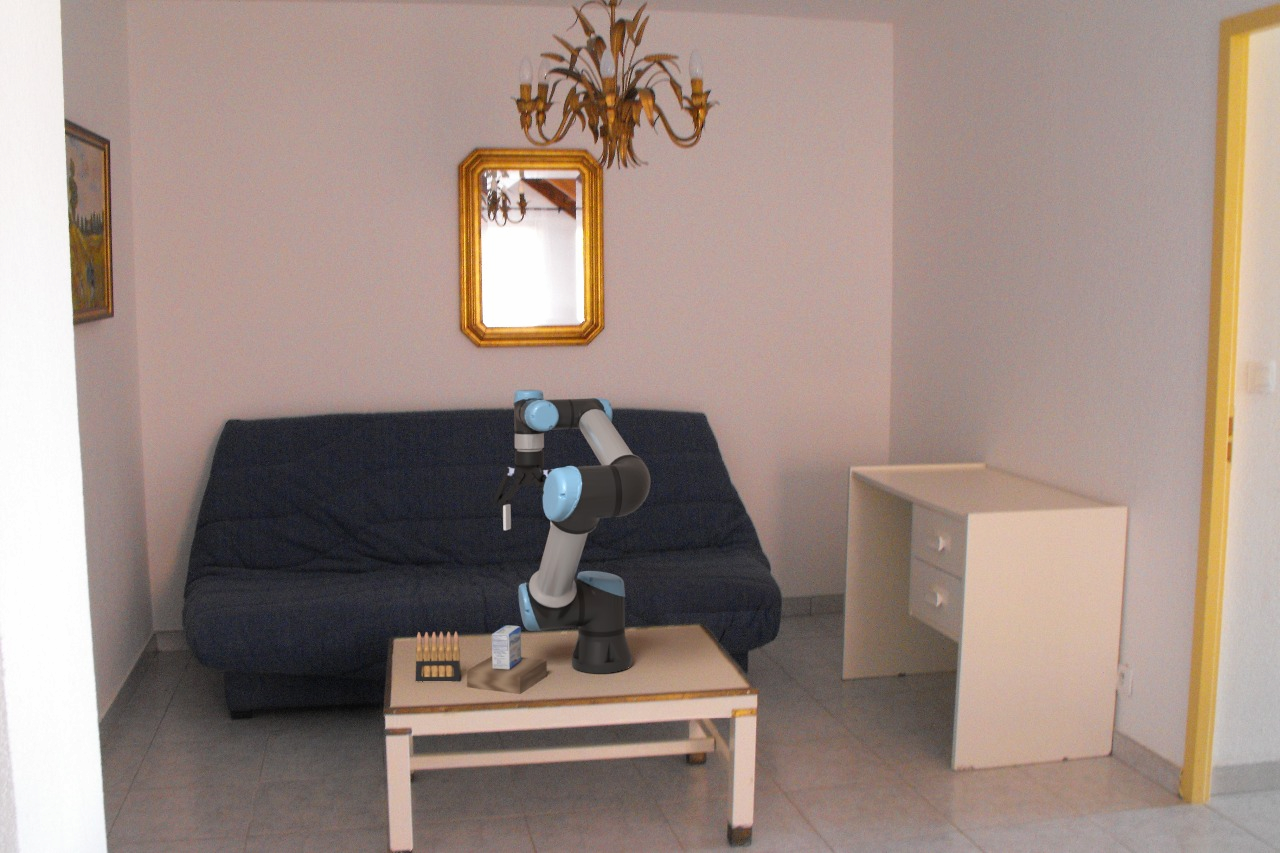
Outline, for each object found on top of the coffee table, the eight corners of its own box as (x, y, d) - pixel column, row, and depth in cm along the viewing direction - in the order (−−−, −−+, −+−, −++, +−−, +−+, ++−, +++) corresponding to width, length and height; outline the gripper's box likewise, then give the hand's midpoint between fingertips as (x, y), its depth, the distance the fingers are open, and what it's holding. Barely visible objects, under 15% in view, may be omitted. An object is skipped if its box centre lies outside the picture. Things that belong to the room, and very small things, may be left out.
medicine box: (509, 670, 264) (509, 634, 263) (491, 669, 265) (491, 633, 264) (521, 661, 271) (521, 625, 271) (504, 659, 273) (504, 624, 272)
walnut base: (546, 676, 273) (546, 660, 272) (520, 693, 260) (519, 676, 259) (495, 670, 278) (495, 654, 277) (467, 686, 265) (466, 670, 264)
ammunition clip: (461, 679, 271) (460, 630, 270) (460, 681, 269) (459, 632, 268) (416, 679, 270) (415, 630, 269) (415, 682, 269) (414, 633, 268)
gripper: (579, 449, 288) (580, 531, 290) (493, 446, 297) (494, 525, 299) (567, 452, 281) (568, 536, 283) (479, 449, 290) (481, 530, 292)
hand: (530, 531), depth 291 cm, fingers open, 13 cm apart
